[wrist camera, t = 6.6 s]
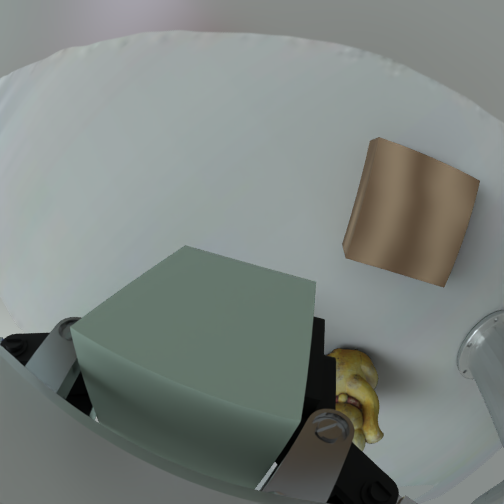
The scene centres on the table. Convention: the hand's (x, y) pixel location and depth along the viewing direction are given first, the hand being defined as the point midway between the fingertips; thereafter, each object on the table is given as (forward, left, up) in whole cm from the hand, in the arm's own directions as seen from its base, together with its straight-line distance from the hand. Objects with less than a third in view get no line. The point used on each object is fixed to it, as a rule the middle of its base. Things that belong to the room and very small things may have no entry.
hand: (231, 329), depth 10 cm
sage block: (0, 0, -1) cm, 1 cm away
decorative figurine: (-12, +18, -22) cm, 31 cm away
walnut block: (-12, -4, -22) cm, 26 cm away
